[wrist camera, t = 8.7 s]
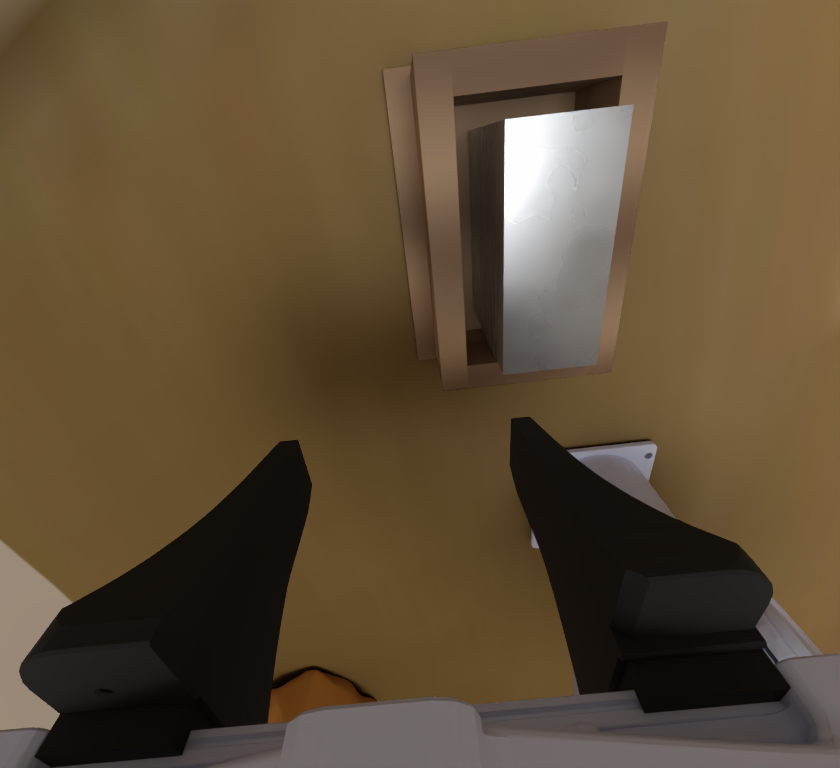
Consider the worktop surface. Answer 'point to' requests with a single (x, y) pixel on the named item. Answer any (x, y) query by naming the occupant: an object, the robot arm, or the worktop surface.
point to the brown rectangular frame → (449, 171)
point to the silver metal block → (545, 233)
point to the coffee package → (311, 695)
